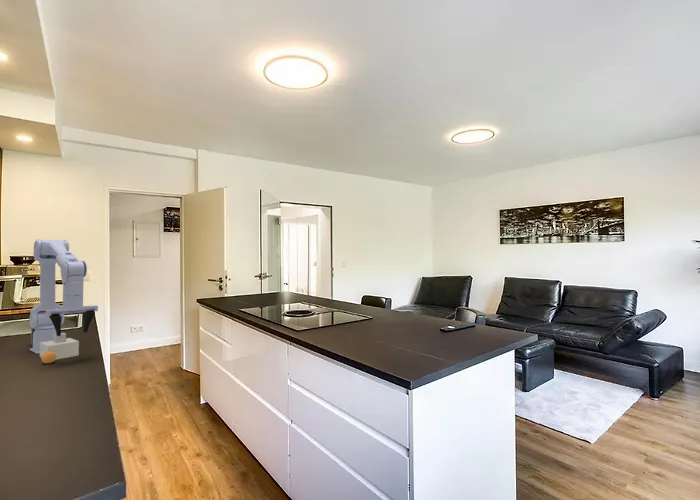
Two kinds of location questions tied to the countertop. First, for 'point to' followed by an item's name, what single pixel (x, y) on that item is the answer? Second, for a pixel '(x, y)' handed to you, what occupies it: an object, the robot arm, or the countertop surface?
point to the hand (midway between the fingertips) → (72, 333)
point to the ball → (48, 357)
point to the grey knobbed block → (60, 346)
